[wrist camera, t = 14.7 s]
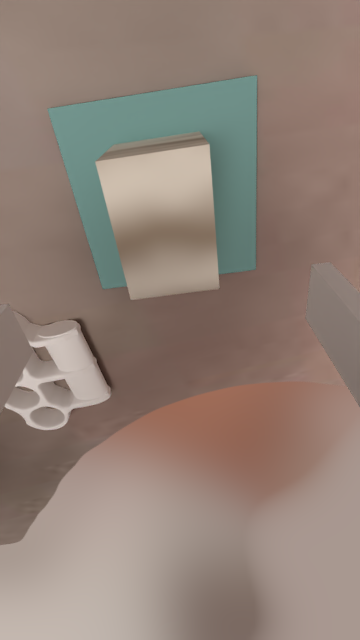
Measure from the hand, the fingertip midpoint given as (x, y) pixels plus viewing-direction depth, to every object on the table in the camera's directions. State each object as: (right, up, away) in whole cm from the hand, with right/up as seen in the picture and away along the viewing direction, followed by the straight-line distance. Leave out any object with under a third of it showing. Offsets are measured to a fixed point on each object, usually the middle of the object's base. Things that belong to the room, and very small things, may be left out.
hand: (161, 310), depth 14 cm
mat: (0, +11, +15) cm, 18 cm away
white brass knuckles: (-17, -6, +27) cm, 32 cm away
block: (0, +10, +14) cm, 18 cm away
